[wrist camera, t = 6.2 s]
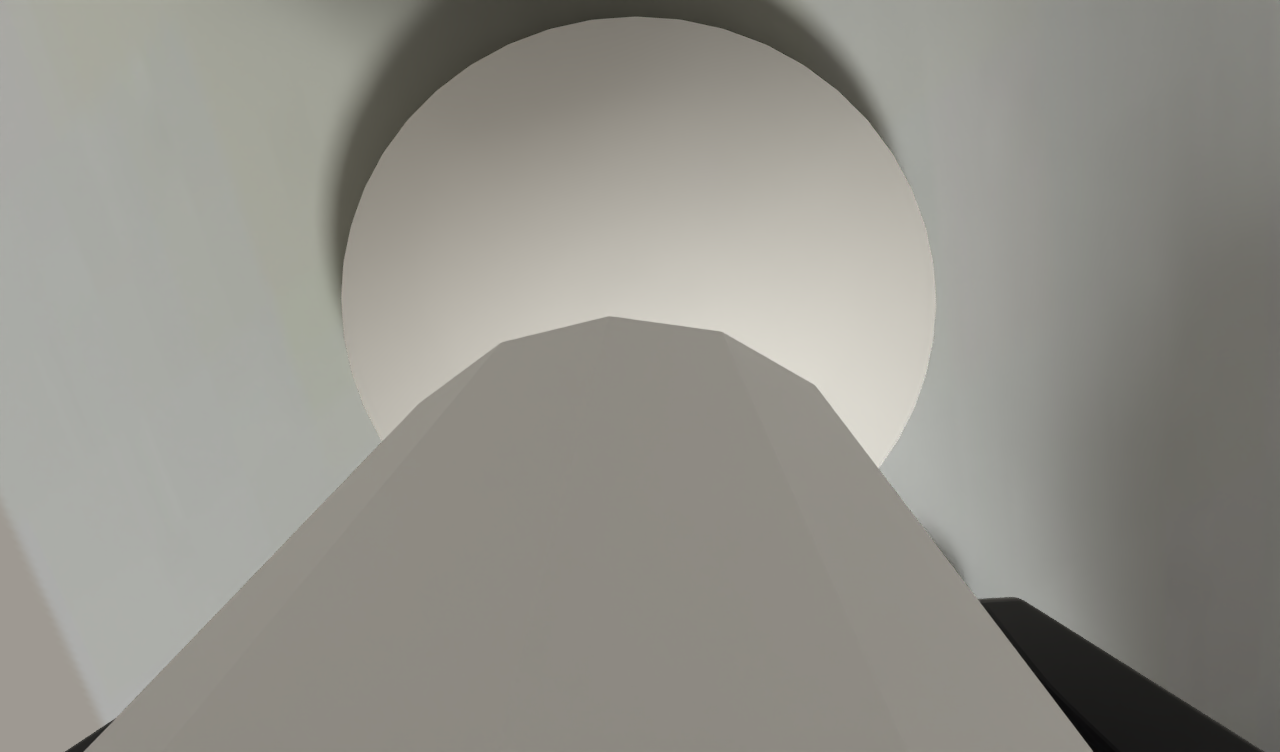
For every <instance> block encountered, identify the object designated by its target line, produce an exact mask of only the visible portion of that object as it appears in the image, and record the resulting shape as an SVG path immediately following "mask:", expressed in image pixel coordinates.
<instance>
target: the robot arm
mask: <svg viewBox="0 0 1280 752" xmlns="http://www.w3.org/2000/svg"><path fill="white" fill-rule="evenodd" d="M978 600H979V602H980V603H981V604H982V606H983V607H984V608H985V610H986V611H987V612H988V614H989V615H990V616H991V618H992V619H993V620H994V622H995V623H996V624H997V625H998V627H999V628H1000V629H1001V631H1002V632H1003V633H1004V635H1005V636H1006V637H1007V639H1008V640H1009V641H1010V643H1011V644H1012V645H1013V647H1014V648H1015V649H1016V650H1017V652H1018V653H1019V654H1020V656H1021V657H1022V658H1023V660H1024V661H1025V662H1026V664H1027V665H1028V666H1029V668H1030V669H1031V670H1032V672H1033V673H1034V674H1035V676H1036V677H1037V678H1038V679H1039V681H1040V682H1041V683H1042V685H1043V686H1044V687H1045V689H1046V690H1047V691H1048V693H1049V694H1050V695H1051V697H1052V698H1053V699H1054V701H1055V702H1056V703H1057V704H1058V706H1059V707H1060V708H1061V710H1062V711H1063V712H1064V714H1065V715H1066V716H1067V718H1068V719H1069V720H1070V722H1071V723H1072V724H1073V726H1074V727H1075V728H1076V730H1077V731H1078V732H1079V733H1080V735H1081V736H1082V737H1083V739H1084V740H1085V741H1086V743H1087V744H1088V745H1089V747H1090V748H1091V749H1092V751H1093V752H1264V751H1262V750H1261V749H1259V748H1257V747H1256V746H1254V745H1253V744H1251V743H1249V742H1248V741H1246V740H1245V739H1243V738H1242V737H1240V736H1238V735H1237V734H1235V733H1234V732H1232V731H1230V730H1229V729H1227V728H1226V727H1224V726H1222V725H1221V724H1219V723H1218V722H1216V721H1215V720H1213V719H1211V718H1210V717H1208V716H1207V715H1205V714H1203V713H1202V712H1200V711H1199V710H1197V709H1195V708H1194V707H1192V706H1191V705H1189V704H1188V703H1186V702H1184V701H1183V700H1181V699H1180V698H1178V697H1176V696H1175V695H1173V694H1172V693H1170V692H1168V691H1167V690H1165V689H1164V688H1162V687H1161V686H1159V685H1157V684H1156V683H1154V682H1153V681H1151V680H1149V679H1148V678H1146V677H1145V676H1143V675H1141V674H1140V673H1138V672H1137V671H1135V670H1133V669H1132V668H1130V667H1129V666H1127V665H1126V664H1124V663H1122V662H1121V661H1119V660H1118V659H1116V658H1114V657H1113V656H1111V655H1110V654H1108V653H1106V652H1105V651H1103V650H1102V649H1100V648H1099V647H1097V646H1095V645H1094V644H1092V643H1091V642H1089V641H1087V640H1086V639H1084V638H1083V637H1081V636H1079V635H1078V634H1076V633H1075V632H1073V631H1072V630H1070V629H1068V628H1067V627H1065V626H1064V625H1062V624H1060V623H1059V622H1057V621H1056V620H1054V619H1052V618H1051V617H1049V616H1048V615H1046V614H1045V613H1043V612H1041V611H1040V610H1038V609H1037V608H1035V607H1033V606H1032V605H1030V604H1029V603H1027V602H1025V601H1023V600H1021V599H1019V598H1015V597H1005V598H986V599H978ZM115 719H116V718H115ZM115 719H114V720H115ZM114 720H112V721H111V722H109V723H108V724H106V725H105V726H103V727H102V728H100V729H99V730H97V731H96V732H94V733H93V734H91V735H90V736H88V737H87V738H85V739H84V740H82V741H81V742H79V743H78V744H76V745H74V746H73V747H71V748H70V749H68V750H67V751H65V752H84V751H85V750H86V749H87V748H88V747H89V746H90V745H91V744H92V743H93V742H94V741H95V740H96V738H97V737H98V736H99V735H100V734H101V733H102V732H103V731H104V730H105V729H106V728H107V727H108V726H109V725H110V724H111V723H112V722H113V721H114Z"/></svg>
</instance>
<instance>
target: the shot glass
mask: <svg viewBox="0 0 1280 752" xmlns="http://www.w3.org/2000/svg"><path fill="white" fill-rule="evenodd" d="M84 752H1093V751H1092V749H1091V748H1090V747H1089V745H1088V744H1087V743H1086V741H1085V740H1084V739H1083V737H1082V736H1081V735H1080V733H1079V732H1078V731H1077V730H1076V728H1075V727H1074V726H1073V724H1072V723H1071V722H1070V720H1069V719H1068V718H1067V716H1066V715H1065V714H1064V712H1063V711H1062V710H1061V708H1060V707H1059V706H1058V704H1057V703H1056V702H1055V701H1054V699H1053V698H1052V697H1051V695H1050V694H1049V693H1048V691H1047V690H1046V689H1045V687H1044V686H1043V685H1042V683H1041V682H1040V681H1039V679H1038V678H1037V677H1036V676H1035V674H1034V673H1033V672H1032V670H1031V669H1030V668H1029V666H1028V665H1027V664H1026V662H1025V661H1024V660H1023V658H1022V657H1021V656H1020V654H1019V653H1018V652H1017V650H1016V649H1015V648H1014V647H1013V645H1012V644H1011V643H1010V641H1009V640H1008V639H1007V637H1006V636H1005V635H1004V633H1003V632H1002V631H1001V629H1000V628H999V627H998V625H997V624H996V623H995V622H994V620H993V619H992V618H991V616H990V615H989V614H988V612H987V611H986V610H985V608H984V607H983V606H982V604H981V603H980V602H979V600H978V599H977V598H976V596H975V595H974V594H973V593H972V591H971V590H970V589H969V587H968V586H967V585H966V583H965V582H964V581H963V579H962V578H961V577H960V575H959V574H958V573H957V571H956V570H955V569H954V567H953V566H952V565H951V564H950V562H949V561H948V560H947V558H946V557H945V556H944V554H943V553H942V552H941V550H940V549H939V548H938V546H937V545H936V544H935V542H934V541H933V540H932V539H931V537H930V536H929V535H928V533H927V532H926V531H925V529H924V528H923V527H922V525H921V524H920V523H919V521H918V520H917V519H916V517H915V516H914V515H913V513H912V512H911V511H910V510H909V508H908V507H907V506H906V504H905V503H904V502H903V500H902V499H901V498H900V496H899V495H898V494H897V492H896V491H895V490H894V488H893V487H892V486H891V484H890V483H889V482H888V481H887V479H886V478H885V477H884V475H883V474H882V473H881V471H880V470H879V469H878V467H877V466H876V465H875V463H874V462H873V461H872V459H871V458H870V457H869V456H868V454H867V453H866V452H865V450H864V449H863V448H862V446H861V445H860V444H859V442H858V441H857V440H856V438H855V437H854V436H853V434H852V433H851V432H850V430H849V429H848V428H847V427H846V425H845V424H844V423H843V421H842V420H841V419H840V417H839V416H838V415H837V413H836V412H835V411H834V409H833V408H832V407H831V405H830V404H829V403H828V401H827V400H826V399H825V398H824V396H823V395H822V394H821V392H820V391H819V390H818V388H817V387H816V386H815V385H814V384H812V383H810V382H809V381H807V380H805V379H803V378H802V377H800V376H798V375H796V374H795V373H793V372H791V371H789V370H788V369H786V368H784V367H782V366H781V365H779V364H777V363H776V362H774V361H772V360H770V359H769V358H767V357H765V356H763V355H762V354H760V353H758V352H756V351H755V350H753V349H751V348H749V347H748V346H746V345H744V344H742V343H741V342H739V341H737V340H736V339H734V338H732V337H730V336H729V335H727V334H725V333H723V332H721V331H714V330H707V329H699V328H692V327H685V326H678V325H670V324H663V323H656V322H649V321H642V320H634V319H627V318H620V317H613V316H607V317H603V318H599V319H595V320H591V321H587V322H583V323H579V324H575V325H570V326H566V327H562V328H558V329H554V330H550V331H546V332H542V333H538V334H533V335H529V336H525V337H521V338H517V339H513V340H509V341H505V342H501V343H500V344H498V345H497V346H496V347H494V348H493V349H492V350H490V351H489V352H488V353H486V354H485V355H483V356H482V357H481V358H479V359H478V360H477V361H475V362H474V363H473V364H471V365H470V366H469V367H467V368H466V369H465V370H463V371H462V372H461V373H459V374H458V375H457V376H455V377H454V378H452V379H451V380H450V381H448V382H447V383H446V384H444V385H443V386H442V387H440V388H439V389H438V390H436V391H435V392H434V393H432V394H431V395H430V396H428V397H427V398H426V399H424V400H423V401H421V402H420V403H419V404H418V405H417V406H416V407H415V408H414V409H413V410H412V411H411V412H410V413H409V414H408V415H407V416H406V417H405V418H404V419H403V420H402V421H401V423H400V424H399V425H398V426H397V427H396V428H395V429H394V430H393V431H392V432H391V433H390V434H389V435H388V436H387V437H386V438H385V439H384V440H383V441H382V442H381V443H380V444H379V445H378V446H377V447H376V448H375V450H374V451H373V452H372V453H371V454H370V455H369V456H368V457H367V458H366V459H365V460H364V461H363V462H362V463H361V464H360V465H359V466H358V467H357V468H356V469H355V470H354V471H353V472H352V473H351V474H350V476H349V477H348V478H347V479H346V480H345V481H344V482H343V483H342V484H341V485H340V486H339V487H338V488H337V489H336V490H335V491H334V492H333V493H332V494H331V495H330V496H329V497H328V498H327V499H326V500H325V502H324V503H323V504H322V505H321V506H320V507H319V508H318V509H317V510H316V511H315V512H314V513H313V514H312V515H311V516H310V517H309V518H308V519H307V520H306V521H305V522H304V523H303V524H302V525H301V526H300V527H299V529H298V530H297V531H296V532H295V533H294V534H293V535H292V536H291V537H290V538H289V539H288V540H287V541H286V542H285V543H284V544H283V545H282V546H281V547H280V548H279V549H278V550H277V551H276V552H275V553H274V555H273V556H272V557H271V558H270V559H269V560H268V561H267V562H266V563H265V564H264V565H263V566H262V567H261V568H260V569H259V570H258V571H257V572H256V573H255V574H254V575H253V576H252V577H251V578H250V579H249V580H248V582H247V583H246V584H245V585H244V586H243V587H242V588H241V589H240V590H239V591H238V592H237V593H236V594H235V595H234V596H233V597H232V598H231V599H230V600H229V601H228V602H227V603H226V604H225V605H224V606H223V608H222V609H221V610H220V611H219V612H218V613H217V614H216V615H215V616H214V617H213V618H212V619H211V620H210V621H209V622H208V623H207V624H206V625H205V626H204V627H203V628H202V629H201V630H200V631H199V632H198V634H197V635H196V636H195V637H194V638H193V639H192V640H191V641H190V642H189V643H188V644H187V645H186V646H185V647H184V648H183V649H182V650H181V651H180V652H179V653H178V654H177V655H176V656H175V657H174V658H173V659H172V661H171V662H170V663H169V664H168V665H167V666H166V667H165V668H164V669H163V670H162V671H161V672H160V673H159V674H158V675H157V676H156V677H155V678H154V679H153V680H152V681H151V682H150V683H149V684H148V685H147V687H146V688H145V689H144V690H143V691H142V692H141V693H140V694H139V695H138V696H137V697H136V698H135V699H134V700H133V701H132V702H131V703H130V704H129V705H128V706H127V707H126V708H125V709H124V710H123V711H122V713H121V714H120V715H119V716H118V717H117V718H116V719H115V720H114V721H113V722H112V723H111V724H110V725H109V726H108V727H107V728H106V729H105V730H104V731H103V732H102V733H101V734H100V735H99V736H98V737H97V738H96V740H95V741H94V742H93V743H92V744H91V745H90V746H89V747H88V748H87V749H86V750H85V751H84Z"/></svg>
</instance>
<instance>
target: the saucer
mask: <svg viewBox="0 0 1280 752" xmlns="http://www.w3.org/2000/svg"><path fill="white" fill-rule="evenodd" d="M341 305H342V318H343V332H344V340H345V344H346V349H347V354H348V358H349V363H350V368H351V372H352V375H353V378H354V381H355V383H356V386H357V389H358V392H359V395H360V397H361V400H362V403H363V406H364V408H365V410H366V412H367V414H368V416H369V418H370V420H371V422H372V424H373V426H374V428H375V429H376V431H377V433H378V435H379V437H380V439H381V440H382V441H383V440H384V439H385V438H386V437H387V436H388V435H389V434H390V433H391V432H392V431H393V430H394V429H395V428H396V427H397V426H398V425H399V424H400V423H401V421H402V420H403V419H404V418H405V417H406V416H407V415H408V414H409V413H410V412H411V411H412V410H413V409H414V408H415V407H416V406H417V405H418V404H419V403H420V402H421V401H423V400H424V399H426V398H427V397H428V396H430V395H431V394H432V393H434V392H435V391H436V390H438V389H439V388H440V387H442V386H443V385H444V384H446V383H447V382H448V381H450V380H451V379H452V378H454V377H455V376H457V375H458V374H459V373H461V372H462V371H463V370H465V369H466V368H467V367H469V366H470V365H471V364H473V363H474V362H475V361H477V360H478V359H479V358H481V357H482V356H483V355H485V354H486V353H488V352H489V351H490V350H492V349H493V348H494V347H496V346H497V345H498V344H500V343H501V342H505V341H509V340H513V339H517V338H521V337H525V336H529V335H533V334H538V333H542V332H546V331H550V330H554V329H558V328H562V327H566V326H570V325H575V324H579V323H583V322H587V321H591V320H595V319H599V318H603V317H607V316H613V317H620V318H627V319H634V320H642V321H649V322H656V323H663V324H670V325H678V326H685V327H692V328H699V329H707V330H714V331H721V332H723V333H725V334H727V335H729V336H730V337H732V338H734V339H736V340H737V341H739V342H741V343H742V344H744V345H746V346H748V347H749V348H751V349H753V350H755V351H756V352H758V353H760V354H762V355H763V356H765V357H767V358H769V359H770V360H772V361H774V362H776V363H777V364H779V365H781V366H782V367H784V368H786V369H788V370H789V371H791V372H793V373H795V374H796V375H798V376H800V377H802V378H803V379H805V380H807V381H809V382H810V383H812V384H814V385H815V386H816V387H817V388H818V390H819V391H820V392H821V394H822V395H823V396H824V398H825V399H826V400H827V401H828V403H829V404H830V405H831V407H832V408H833V409H834V411H835V412H836V413H837V415H838V416H839V417H840V419H841V420H842V421H843V423H844V424H845V425H846V427H847V428H848V429H849V430H850V432H851V433H852V434H853V436H854V437H855V438H856V440H857V441H858V442H859V444H860V445H861V446H862V448H863V449H864V450H865V452H866V453H867V454H868V456H869V457H870V458H871V459H872V461H873V462H874V463H875V465H876V466H877V467H878V469H879V467H880V466H881V464H882V463H883V462H884V460H885V459H886V457H887V456H888V454H889V453H890V451H891V450H892V448H893V447H894V446H895V444H896V443H897V441H898V439H899V437H900V435H901V433H902V431H903V430H904V428H905V426H906V424H907V422H908V420H909V418H910V416H911V414H912V412H913V410H914V408H915V405H916V402H917V399H918V396H919V394H920V391H921V388H922V385H923V382H924V380H925V377H926V373H927V368H928V364H929V359H930V354H931V349H932V345H933V340H934V327H935V313H936V291H935V276H934V263H933V259H932V254H931V249H930V245H929V240H928V235H927V231H926V226H925V223H924V221H923V218H922V215H921V212H920V210H919V207H918V204H917V202H916V199H915V196H914V193H913V191H912V188H911V187H910V185H909V183H908V181H907V179H906V177H905V176H904V174H903V172H902V170H901V168H900V166H899V164H898V163H897V161H896V159H895V157H894V155H893V153H892V152H891V151H890V149H889V148H888V147H887V145H886V144H885V143H884V141H883V140H882V139H881V137H880V136H879V135H878V133H877V132H876V131H875V129H874V128H873V127H872V125H871V124H870V123H869V121H868V120H867V119H866V118H865V117H864V116H863V115H862V114H861V113H860V112H859V111H858V110H857V109H856V108H855V107H854V106H853V105H852V104H851V103H850V102H849V101H848V100H847V99H846V98H845V97H844V96H843V95H842V94H841V93H840V92H839V91H838V90H836V89H835V88H834V87H832V86H831V85H830V84H828V83H827V82H826V81H824V80H823V79H822V78H820V77H819V76H818V75H816V74H815V73H814V72H812V71H811V70H810V69H808V68H807V67H806V66H804V65H803V64H801V63H799V62H797V61H795V60H793V59H792V58H790V57H788V56H786V55H784V54H782V53H781V52H779V51H777V50H775V49H773V48H771V47H770V46H768V45H766V44H763V43H761V42H758V41H755V40H753V39H750V38H747V37H745V36H742V35H739V34H736V33H734V32H731V31H728V30H726V29H722V28H717V27H713V26H708V25H704V24H699V23H694V22H690V21H685V20H680V19H665V18H651V17H637V16H636V17H622V18H608V19H595V20H588V21H584V22H579V23H575V24H570V25H565V26H561V27H556V28H552V29H548V30H545V31H543V32H540V33H537V34H535V35H532V36H529V37H527V38H524V39H521V40H519V41H516V42H513V43H511V44H508V45H506V46H504V47H502V48H501V49H499V50H497V51H495V52H493V53H491V54H490V55H488V56H486V57H484V58H482V59H481V60H479V61H477V62H475V63H473V64H472V65H470V66H468V67H467V68H466V69H464V70H463V71H462V72H461V73H459V74H458V75H457V76H455V77H454V78H453V79H451V80H450V81H449V82H447V83H446V84H445V85H443V86H442V87H441V88H439V89H438V90H437V91H436V92H435V93H434V94H433V95H432V96H431V97H430V98H429V99H428V100H427V101H426V102H425V103H424V104H423V105H422V106H421V107H420V108H419V109H418V110H417V111H416V112H415V113H414V114H413V115H412V116H411V117H410V118H409V119H408V120H407V121H406V123H405V124H404V125H403V127H402V128H401V129H400V131H399V132H398V133H397V135H396V136H395V138H394V139H393V140H392V142H391V143H390V144H389V146H388V147H387V148H386V150H385V151H384V153H383V154H382V156H381V158H380V160H379V162H378V164H377V165H376V167H375V169H374V171H373V173H372V175H371V177H370V179H369V180H368V182H367V184H366V186H365V188H364V191H363V193H362V196H361V199H360V202H359V205H358V207H357V210H356V213H355V216H354V218H353V221H352V224H351V228H350V233H349V238H348V243H347V248H346V252H345V257H344V262H343V277H342V293H341Z"/></svg>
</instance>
